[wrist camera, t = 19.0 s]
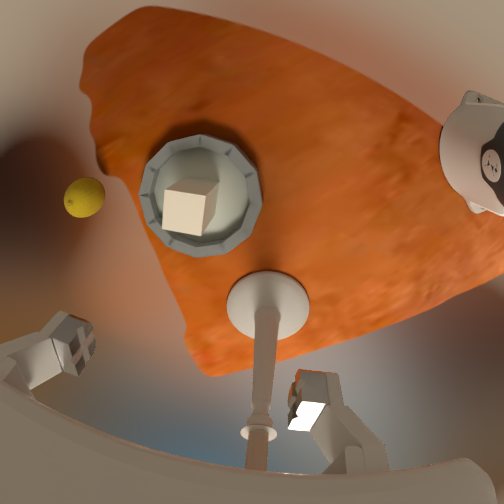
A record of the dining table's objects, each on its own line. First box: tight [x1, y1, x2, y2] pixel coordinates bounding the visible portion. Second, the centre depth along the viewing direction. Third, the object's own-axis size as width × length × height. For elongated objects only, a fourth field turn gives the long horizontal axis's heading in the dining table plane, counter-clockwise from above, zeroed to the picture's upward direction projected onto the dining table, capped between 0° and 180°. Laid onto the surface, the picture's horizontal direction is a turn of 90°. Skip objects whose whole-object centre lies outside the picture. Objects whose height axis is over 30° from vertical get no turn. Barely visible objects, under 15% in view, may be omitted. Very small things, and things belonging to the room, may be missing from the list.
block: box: [162, 176, 220, 236], centre depth 35 cm, size 5×5×8 cm
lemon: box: [64, 177, 105, 217], centre depth 37 cm, size 6×6×8 cm
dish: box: [139, 134, 263, 258], centre depth 39 cm, size 16×16×3 cm
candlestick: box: [227, 271, 309, 471], centre depth 33 cm, size 13×13×30 cm
